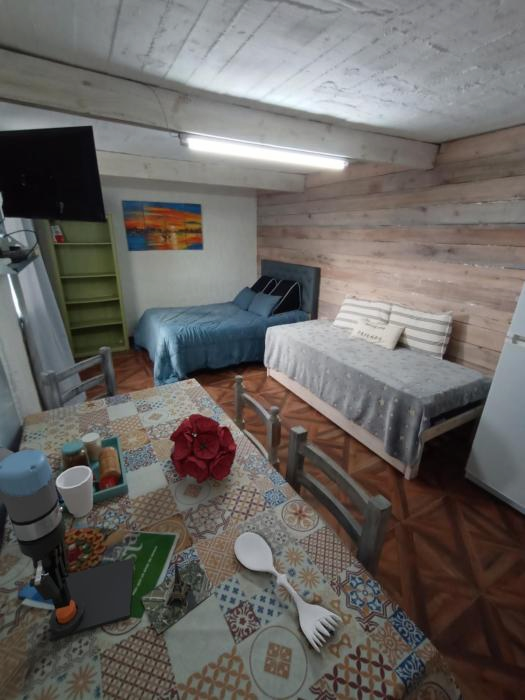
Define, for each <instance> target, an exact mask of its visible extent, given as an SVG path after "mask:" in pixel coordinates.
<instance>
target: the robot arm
mask: <svg viewBox="0 0 525 700" xmlns="http://www.w3.org/2000/svg"><path fill="white" fill-rule="evenodd" d="M59 500H60V499H59V496H58V492H57V486H56V482H55V479H54V475H53V467H51V463H50V462H49V459H48V456H47V454H46V453H45V452H44V451H42V450H39V449H32V450H30V449H23V450H19V451H17V452H14V451H12V450H10V449H9V448H8V447H5V446H2V445H0V502H2V503H3V504H4V506H5V509H6V511H7V514H8V518H9V520H10V523H11V527H12V529H13V533H14V536H15V538H16V541H17V544H18V547H19V550H20V552H21V554H22V555H24V556H26V557H28V558H31V559H32V566H33V569H34V570H36V571H35V575H34V576H33V577H32V578H31V579H30V580H29V587H30V588H34V589H35V590H36V591H37V593H38V594H39V595H40V597H41V599H42V600H43V601H45V602H46V601H50V600H52V604H53V606H54V610H55V609H59V608H63V607H66V606H69V605H70V601H71V596H70V593H69V589H68V586H67V582H66V579H65V578H66V577H69V575H70V573H71V571H70V570H66V568H67V567H68V558H67V557H68V556H67V551H66V543H65V542H66V541H65V536H66V533H67V528H66V523H65V519H64V516H63V511H64V507H63V506H61V505H60V501H59Z"/></svg>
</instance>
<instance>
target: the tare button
mask: <svg viewBox="0 0 525 700" xmlns="http://www.w3.org/2000/svg"><path fill="white" fill-rule="evenodd" d="M75 614H76V606H75V603H74V601H73V600H71V601H70V605H69V606H66V607H63V608H59V609H57V610H56V616H57V619H58V622H59V623H60V624H65V623H68V622H69V621H71V620H72V619H73V617H74V616H75Z"/></svg>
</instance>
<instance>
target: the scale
mask: <svg viewBox="0 0 525 700" xmlns="http://www.w3.org/2000/svg"><path fill="white" fill-rule="evenodd" d="M134 573H135V557H131V558H127V559H122V560H119V561H114V562H111V563H106V564H102V565H99V566H95V567H89V568H86V569H83V570H82V569H81V570H77V571H75V572H70V575H69V577H66V578H65V579H66V582H67V586H68V589H69V593H70V596H71V600H73V601H74V603H75V606H76V614H75V616H74V617H73V619H72V620H71V621H69V622H68V623H65V624H60V623H59V622H58V619H57V616H56V610H57V609H55V608H54V610H53V611H52V612H51V614H50V617H49V622H48V624H49V628H50V634H49V638H48V640H49V642H54V641H55V642H56V641H58V640H62V639H65V638H67V637H72V636H75V635H79V634H81V633H85V632H87V631H91V630H92V631H93V630H94V629H99V628H102V627H105V626H108V625H112V624H116V623H118V622H119V623H120V622H121V621H125V620H128V619H131V615H132V614H131V613H132V600H133V598H132V597H133V585H134Z"/></svg>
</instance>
